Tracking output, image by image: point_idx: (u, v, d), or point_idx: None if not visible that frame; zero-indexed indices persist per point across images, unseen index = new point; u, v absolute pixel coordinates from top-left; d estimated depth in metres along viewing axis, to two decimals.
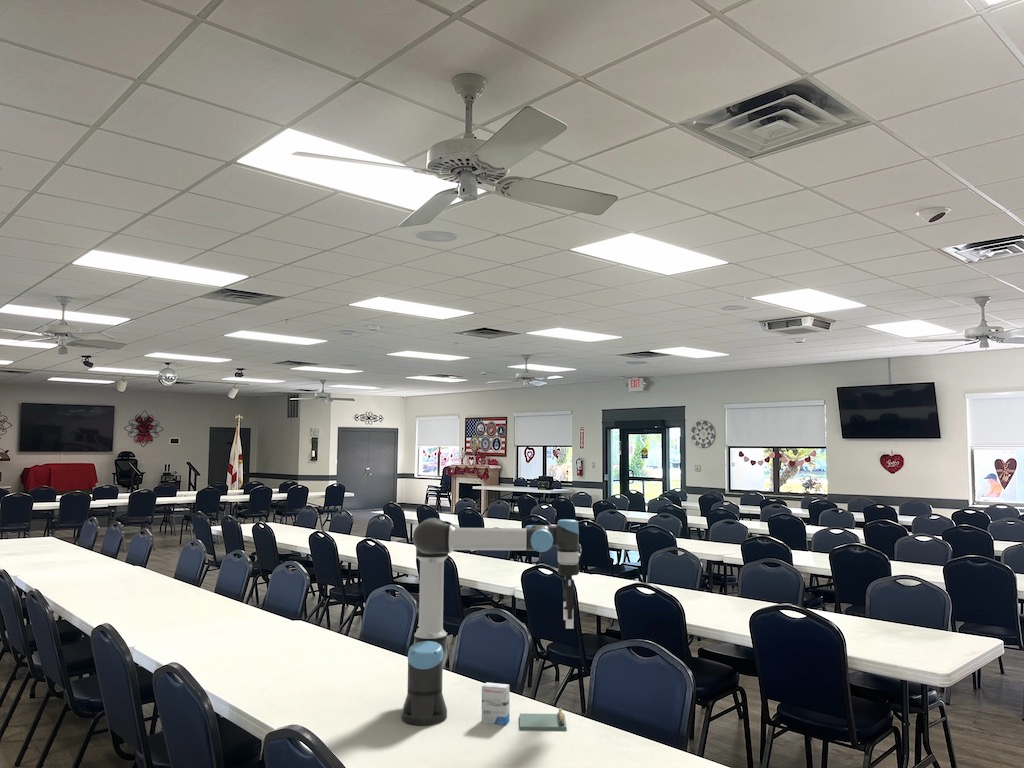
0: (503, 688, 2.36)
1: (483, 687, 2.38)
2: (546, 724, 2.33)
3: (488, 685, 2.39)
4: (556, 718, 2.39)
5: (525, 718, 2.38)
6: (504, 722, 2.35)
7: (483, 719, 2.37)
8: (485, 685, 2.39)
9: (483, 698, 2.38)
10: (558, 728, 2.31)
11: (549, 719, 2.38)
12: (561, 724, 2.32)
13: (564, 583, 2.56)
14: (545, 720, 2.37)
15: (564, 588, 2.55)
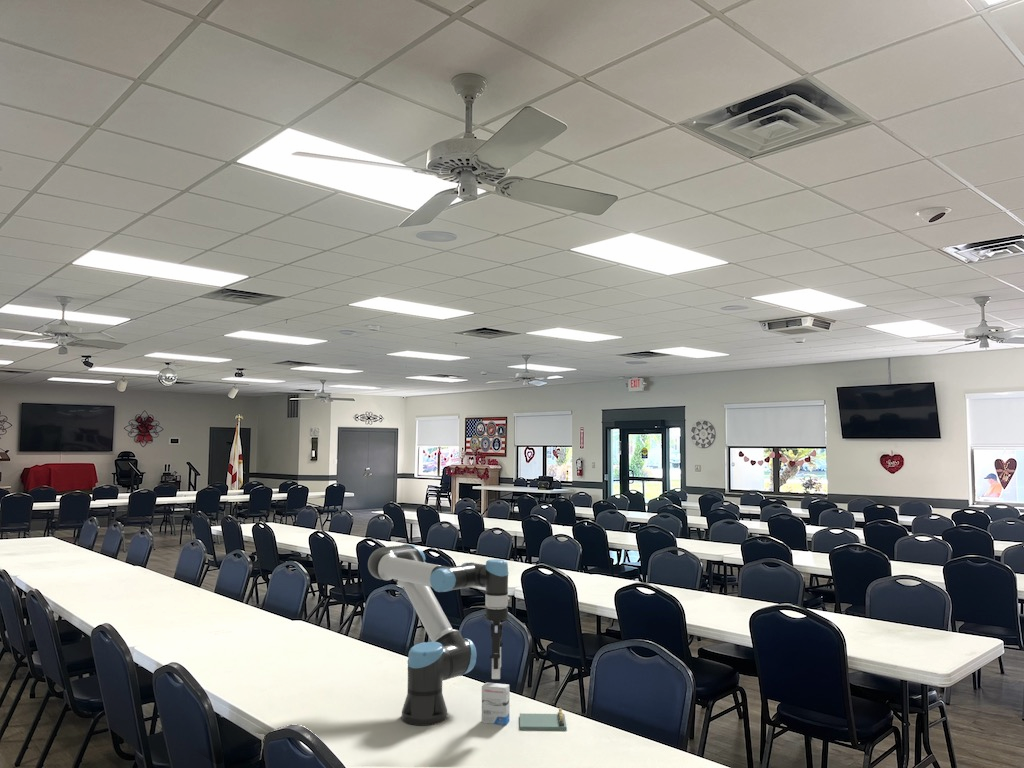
0: (503, 688, 2.36)
1: (483, 687, 2.38)
2: (546, 724, 2.33)
3: (488, 685, 2.39)
4: (556, 718, 2.39)
5: (525, 718, 2.38)
6: (504, 722, 2.35)
7: (483, 719, 2.37)
8: (485, 685, 2.39)
9: (483, 698, 2.38)
10: (558, 728, 2.31)
11: (549, 719, 2.38)
12: (561, 724, 2.32)
13: (491, 629, 2.39)
14: (545, 720, 2.37)
15: (491, 634, 2.37)
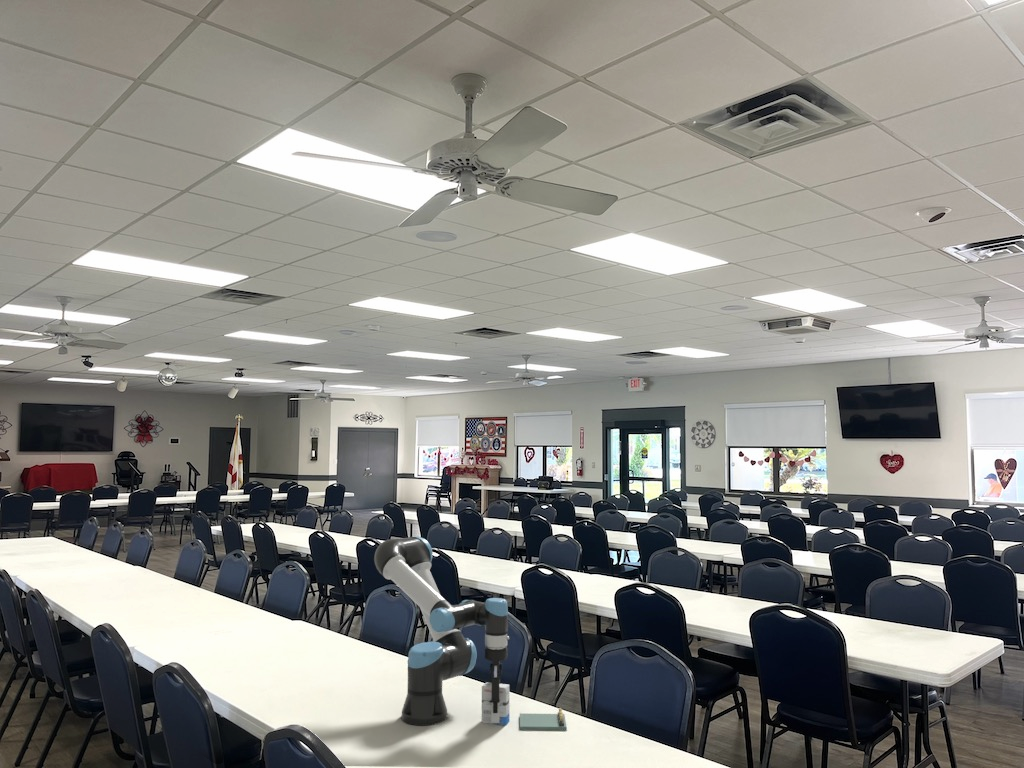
0: (503, 688, 2.36)
1: (483, 687, 2.38)
2: (546, 724, 2.33)
3: (488, 685, 2.39)
4: (556, 718, 2.39)
5: (525, 718, 2.38)
6: (504, 722, 2.35)
7: (483, 719, 2.37)
8: (485, 685, 2.39)
9: (483, 698, 2.38)
10: (558, 728, 2.31)
11: (549, 719, 2.38)
12: (561, 724, 2.32)
13: (491, 670, 2.38)
14: (545, 720, 2.37)
15: None
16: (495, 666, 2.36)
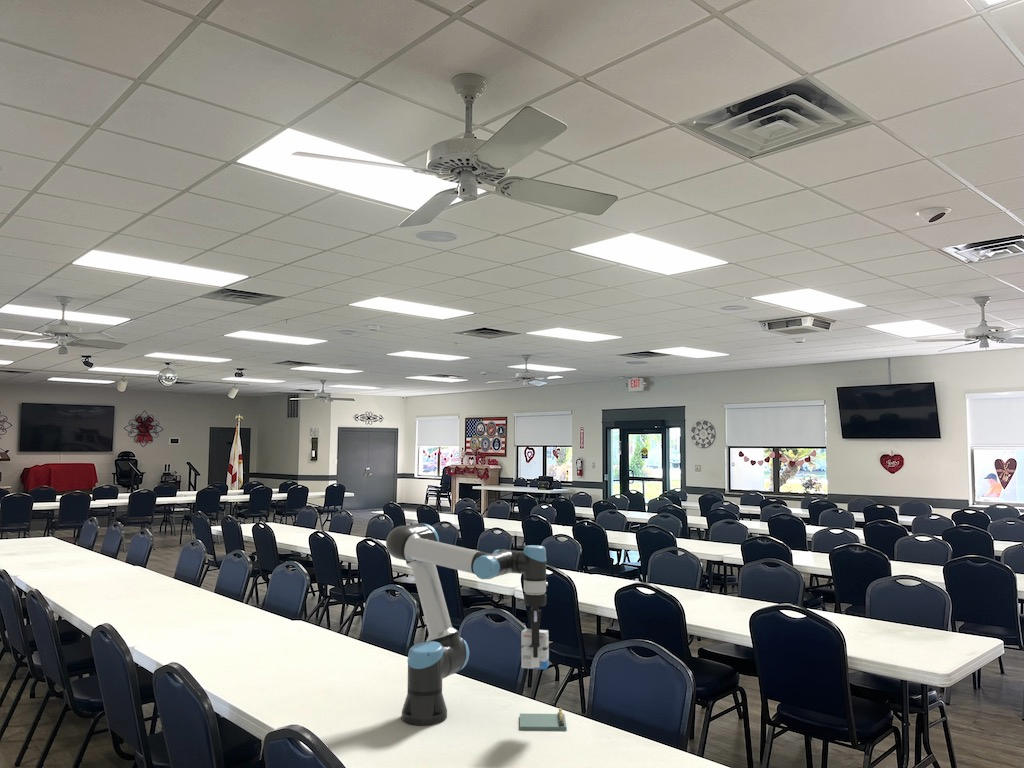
0: (543, 633, 2.37)
1: (523, 632, 2.39)
2: (546, 724, 2.33)
3: (527, 631, 2.39)
4: (556, 718, 2.39)
5: (525, 718, 2.38)
6: (544, 666, 2.36)
7: (523, 664, 2.38)
8: (524, 631, 2.40)
9: (523, 643, 2.38)
10: (558, 728, 2.31)
11: (549, 719, 2.38)
12: (561, 724, 2.32)
13: (530, 616, 2.38)
14: (545, 720, 2.37)
15: (530, 622, 2.38)
16: (535, 611, 2.37)
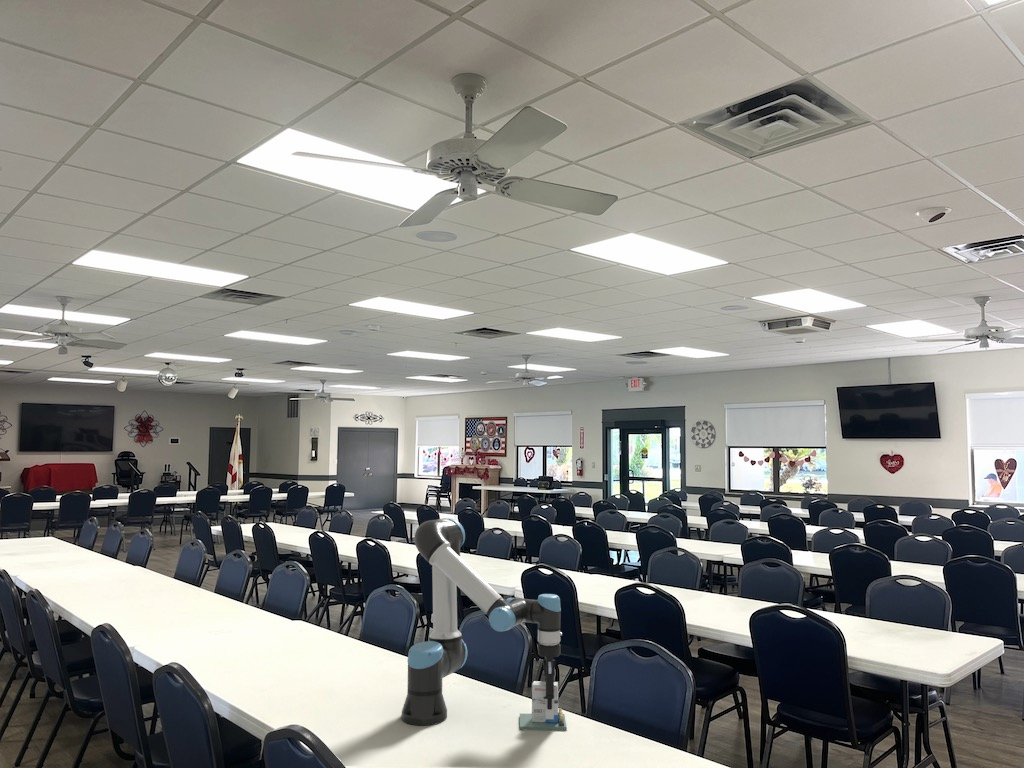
0: (554, 686, 2.36)
1: (533, 686, 2.36)
2: (546, 724, 2.33)
3: (538, 684, 2.37)
4: None
5: (525, 718, 2.38)
6: (556, 720, 2.34)
7: (534, 718, 2.35)
8: (535, 684, 2.37)
9: (534, 697, 2.36)
10: (558, 728, 2.31)
11: None
12: (561, 724, 2.32)
13: (544, 666, 2.37)
14: None
15: (544, 673, 2.36)
16: (549, 662, 2.35)
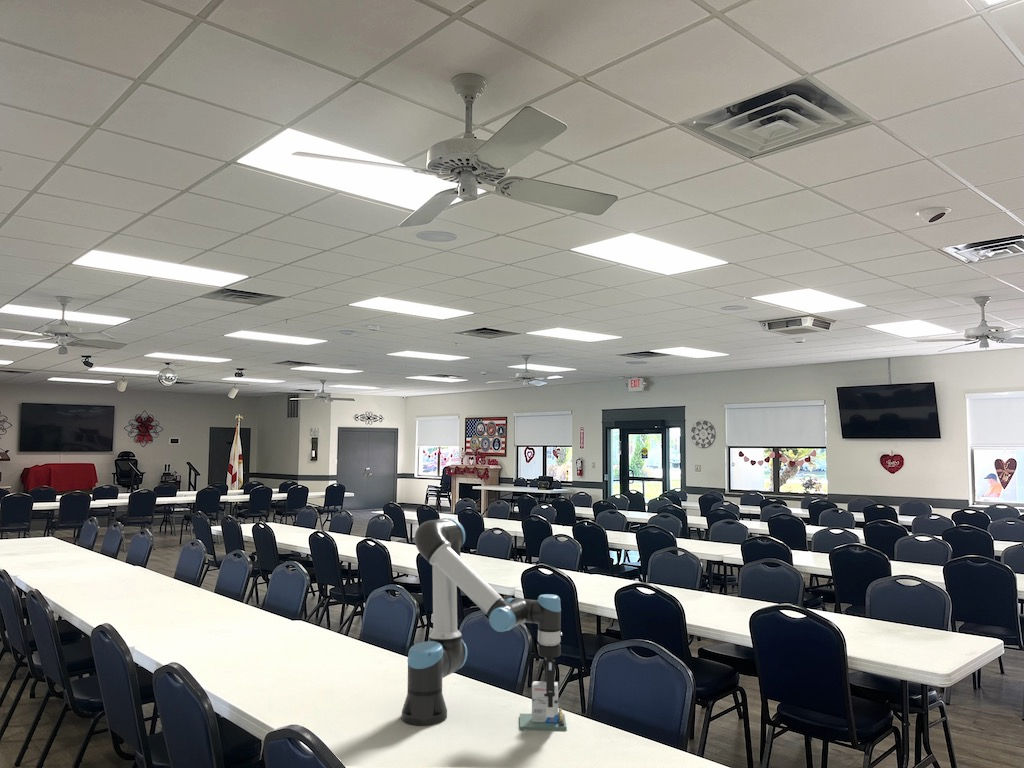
0: (554, 686, 2.36)
1: (533, 686, 2.36)
2: (546, 724, 2.33)
3: (538, 684, 2.37)
4: None
5: (525, 718, 2.38)
6: (556, 720, 2.34)
7: (534, 718, 2.35)
8: (535, 684, 2.37)
9: (534, 697, 2.36)
10: (558, 728, 2.31)
11: None
12: (561, 724, 2.32)
13: (545, 666, 2.37)
14: None
15: (544, 671, 2.35)
16: (549, 662, 2.36)
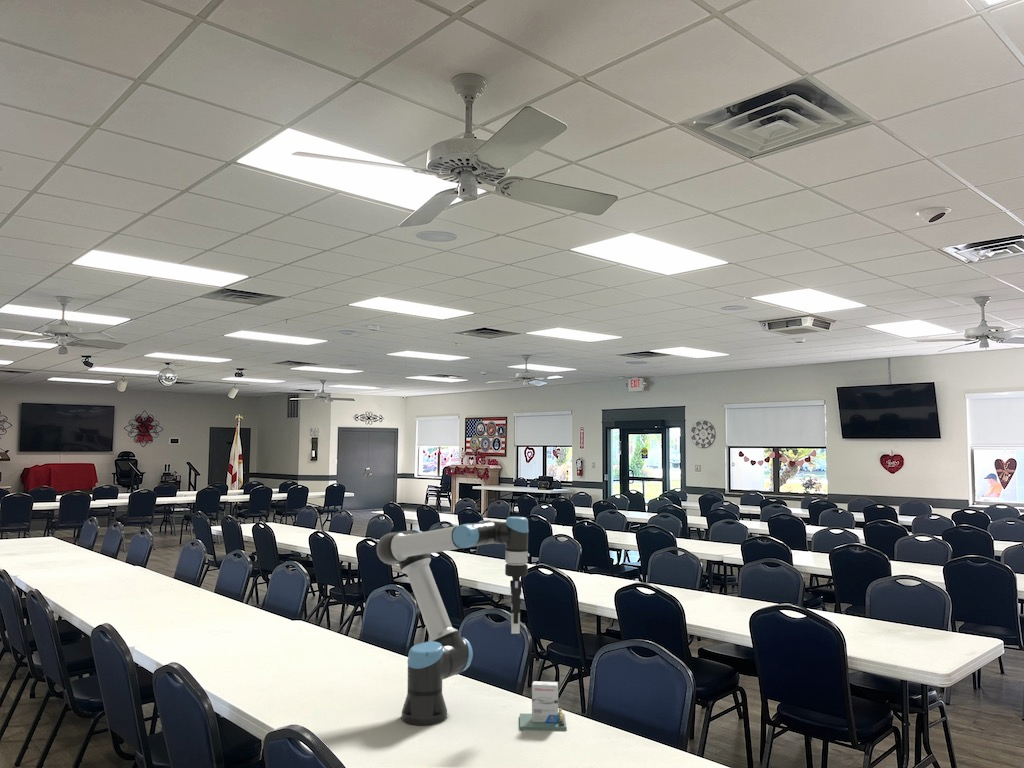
0: (554, 686, 2.36)
1: (533, 686, 2.36)
2: (546, 724, 2.33)
3: (538, 684, 2.37)
4: None
5: (525, 718, 2.38)
6: (556, 720, 2.34)
7: (534, 718, 2.35)
8: (535, 684, 2.37)
9: (534, 697, 2.36)
10: (558, 728, 2.31)
11: None
12: (561, 724, 2.32)
13: (511, 585, 2.40)
14: None
15: (511, 590, 2.38)
16: (516, 581, 2.39)
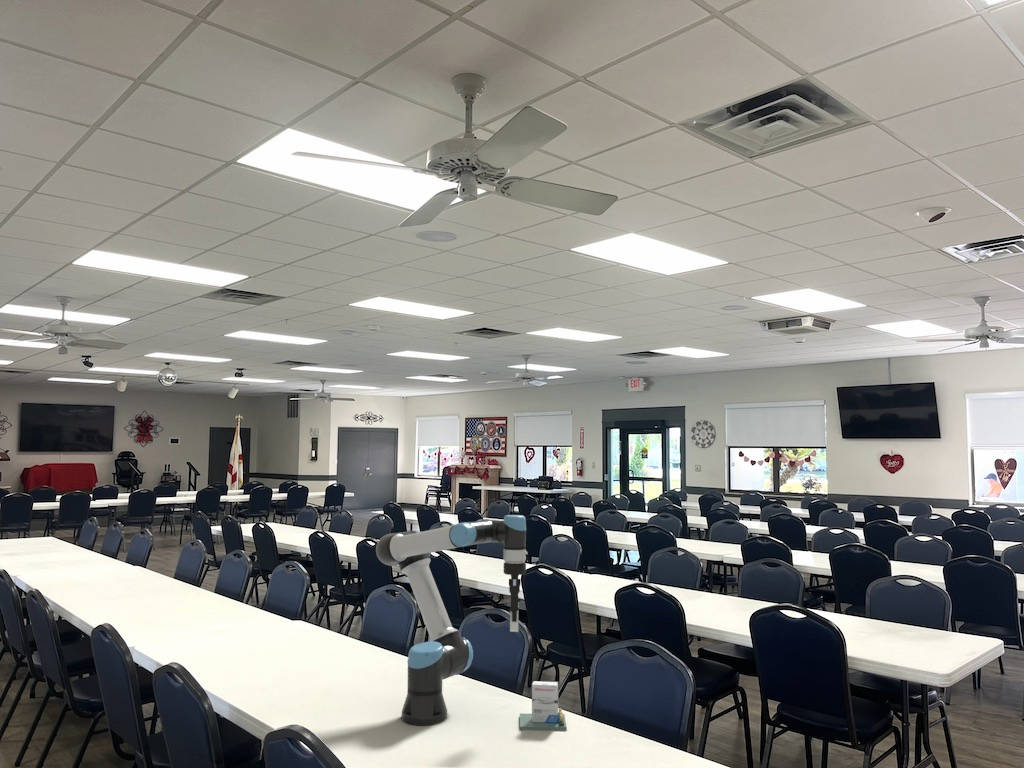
0: (554, 686, 2.36)
1: (533, 686, 2.36)
2: (546, 724, 2.33)
3: (538, 684, 2.37)
4: None
5: (525, 718, 2.38)
6: (556, 720, 2.34)
7: (534, 718, 2.35)
8: (535, 684, 2.37)
9: (534, 697, 2.36)
10: (558, 728, 2.31)
11: None
12: (561, 724, 2.32)
13: (510, 583, 2.39)
14: None
15: (509, 588, 2.38)
16: (514, 579, 2.38)
